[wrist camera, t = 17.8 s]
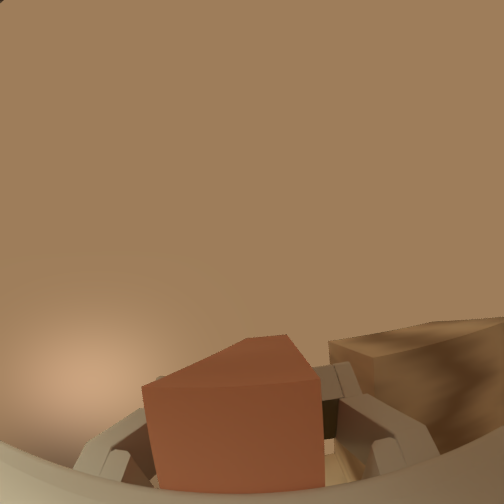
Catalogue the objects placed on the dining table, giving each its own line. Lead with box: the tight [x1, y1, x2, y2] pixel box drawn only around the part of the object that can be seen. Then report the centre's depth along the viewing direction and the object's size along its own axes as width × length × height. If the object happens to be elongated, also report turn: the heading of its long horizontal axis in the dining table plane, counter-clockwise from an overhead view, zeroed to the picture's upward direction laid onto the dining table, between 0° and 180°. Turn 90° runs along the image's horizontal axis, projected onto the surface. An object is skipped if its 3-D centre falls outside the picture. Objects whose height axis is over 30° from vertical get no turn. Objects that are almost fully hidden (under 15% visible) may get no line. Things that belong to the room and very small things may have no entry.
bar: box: [142, 335, 325, 494], centre depth 13 cm, size 3×18×3 cm, turn 175°
